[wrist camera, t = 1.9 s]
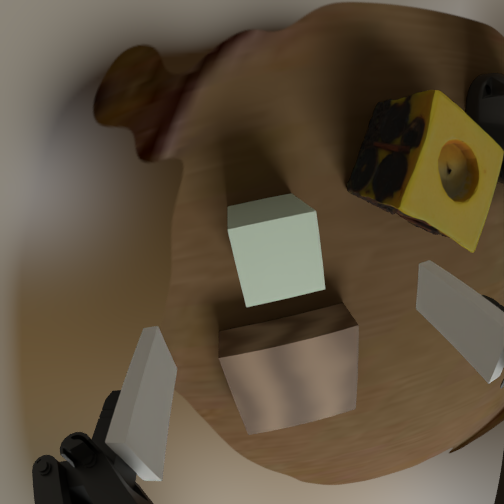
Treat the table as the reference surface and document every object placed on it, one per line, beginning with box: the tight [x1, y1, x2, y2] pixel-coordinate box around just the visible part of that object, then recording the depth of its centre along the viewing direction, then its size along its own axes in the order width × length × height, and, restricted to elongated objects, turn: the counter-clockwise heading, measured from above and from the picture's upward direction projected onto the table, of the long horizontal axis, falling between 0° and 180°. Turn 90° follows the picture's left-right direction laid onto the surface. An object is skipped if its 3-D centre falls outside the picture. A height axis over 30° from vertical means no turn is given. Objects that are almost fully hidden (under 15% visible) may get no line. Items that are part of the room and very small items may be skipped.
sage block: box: [228, 193, 325, 307], centre depth 24 cm, size 6×6×8 cm
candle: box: [347, 90, 504, 252], centre depth 22 cm, size 10×10×10 cm
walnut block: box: [219, 303, 359, 435], centre depth 32 cm, size 14×14×5 cm
